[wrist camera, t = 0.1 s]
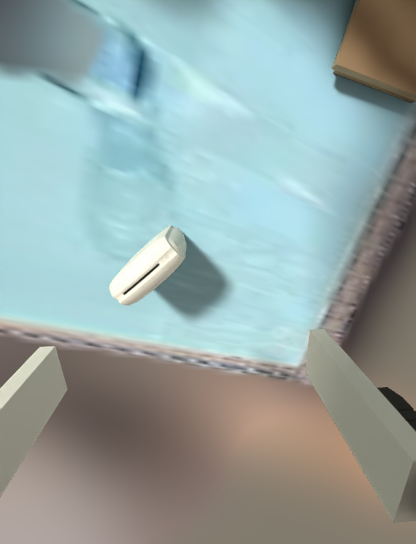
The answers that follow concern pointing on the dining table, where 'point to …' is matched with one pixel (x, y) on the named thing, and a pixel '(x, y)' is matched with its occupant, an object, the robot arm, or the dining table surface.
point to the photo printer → (150, 266)
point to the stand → (381, 47)
